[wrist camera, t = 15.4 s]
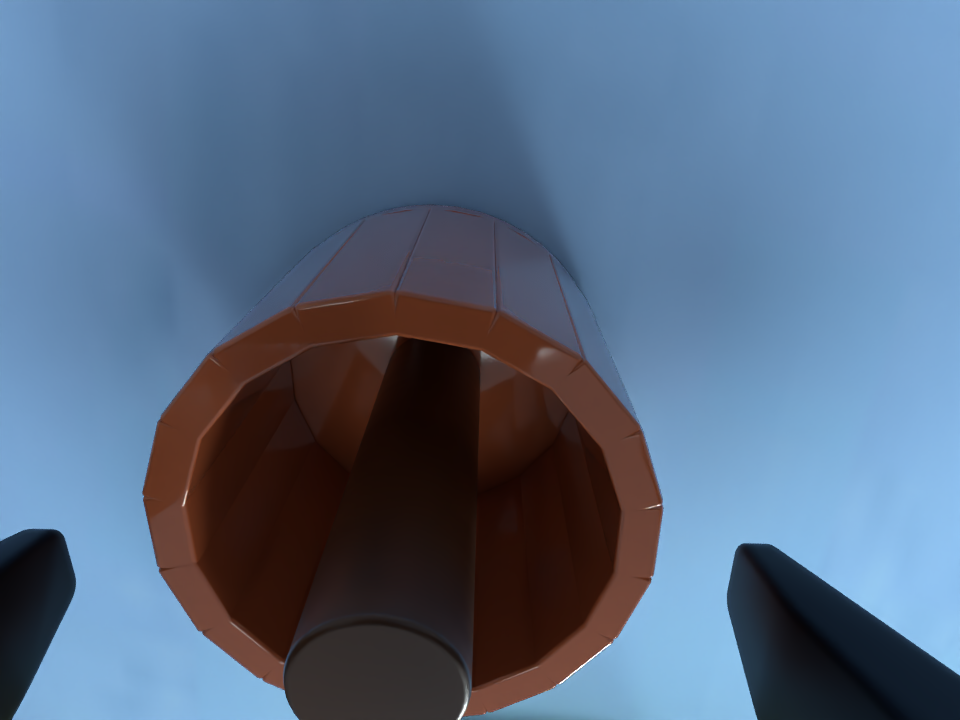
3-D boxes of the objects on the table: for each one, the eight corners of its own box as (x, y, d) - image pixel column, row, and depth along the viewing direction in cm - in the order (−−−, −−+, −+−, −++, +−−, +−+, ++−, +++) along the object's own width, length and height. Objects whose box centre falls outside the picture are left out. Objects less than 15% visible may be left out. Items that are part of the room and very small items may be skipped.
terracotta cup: (289, 502, 16) (188, 718, 11) (253, 198, 14) (94, 285, 8) (584, 507, 16) (633, 728, 11) (612, 204, 14) (695, 296, 8)
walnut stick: (388, 416, 15) (290, 755, 7) (385, 331, 14) (271, 617, 7) (480, 418, 15) (470, 761, 7) (480, 333, 14) (471, 620, 7)
